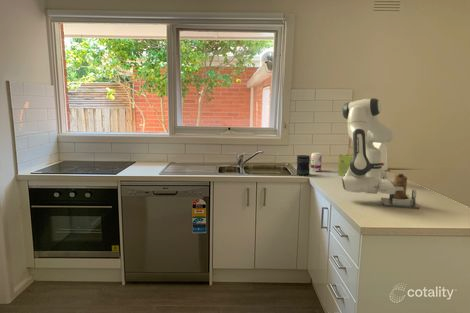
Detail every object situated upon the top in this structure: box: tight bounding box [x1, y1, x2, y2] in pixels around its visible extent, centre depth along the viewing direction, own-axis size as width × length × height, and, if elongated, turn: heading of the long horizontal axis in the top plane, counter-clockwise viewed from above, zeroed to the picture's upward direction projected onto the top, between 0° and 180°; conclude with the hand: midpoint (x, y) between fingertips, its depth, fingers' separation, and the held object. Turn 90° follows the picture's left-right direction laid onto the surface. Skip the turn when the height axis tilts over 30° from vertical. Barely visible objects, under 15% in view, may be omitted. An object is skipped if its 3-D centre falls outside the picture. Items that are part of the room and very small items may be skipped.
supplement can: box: [310, 152, 323, 172], centre depth 260 cm, size 8×8×15 cm
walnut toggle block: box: [393, 173, 408, 199], centre depth 168 cm, size 5×5×14 cm
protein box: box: [337, 153, 353, 176], centre depth 244 cm, size 10×15×16 cm
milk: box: [373, 142, 388, 172], centre depth 264 cm, size 12×12×26 cm
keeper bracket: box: [380, 189, 420, 210], centre depth 169 cm, size 16×14×8 cm
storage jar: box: [296, 154, 311, 177], centre depth 245 cm, size 10×10×15 cm
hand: (401, 187), depth 168 cm, fingers closed on walnut toggle block, 5 cm apart
